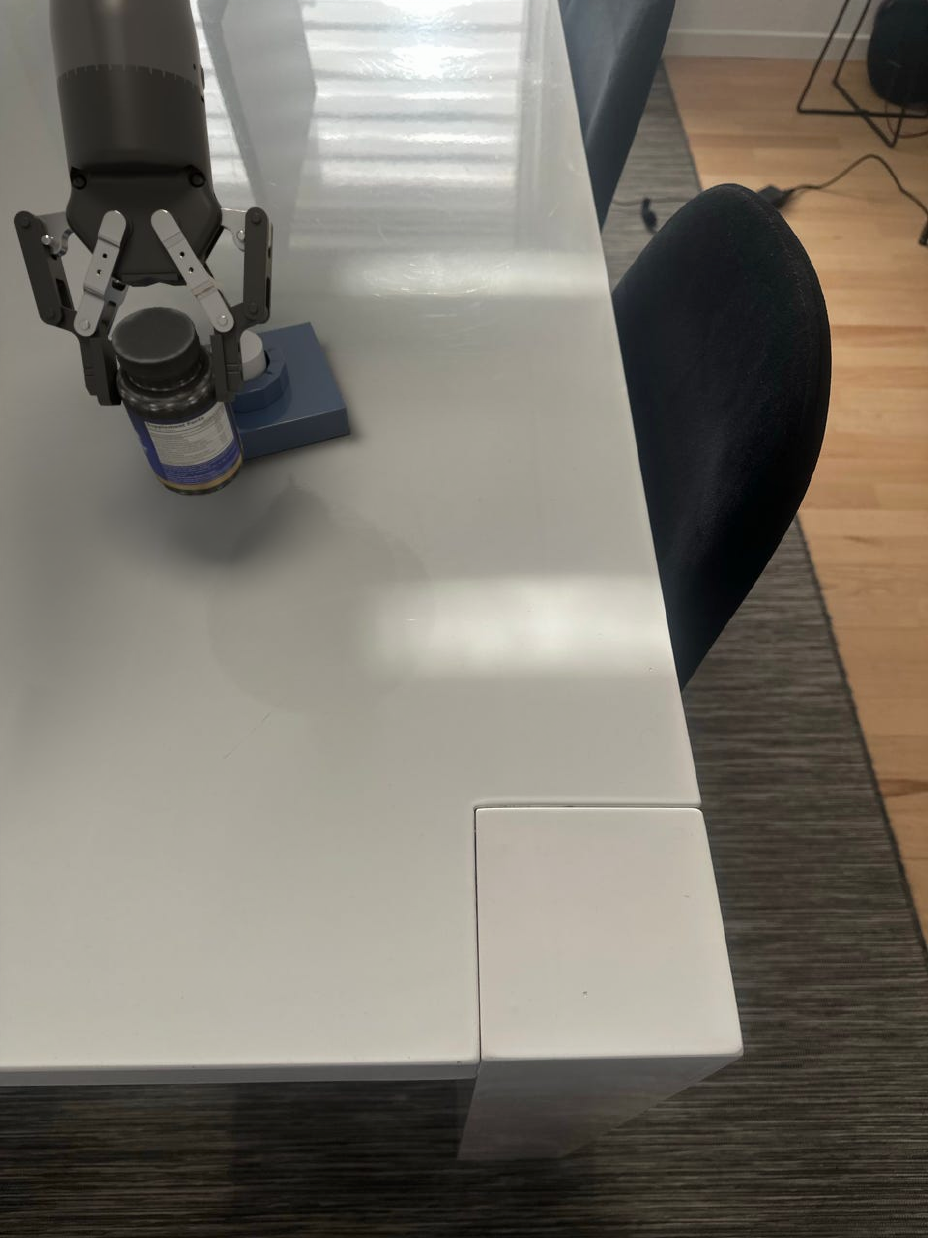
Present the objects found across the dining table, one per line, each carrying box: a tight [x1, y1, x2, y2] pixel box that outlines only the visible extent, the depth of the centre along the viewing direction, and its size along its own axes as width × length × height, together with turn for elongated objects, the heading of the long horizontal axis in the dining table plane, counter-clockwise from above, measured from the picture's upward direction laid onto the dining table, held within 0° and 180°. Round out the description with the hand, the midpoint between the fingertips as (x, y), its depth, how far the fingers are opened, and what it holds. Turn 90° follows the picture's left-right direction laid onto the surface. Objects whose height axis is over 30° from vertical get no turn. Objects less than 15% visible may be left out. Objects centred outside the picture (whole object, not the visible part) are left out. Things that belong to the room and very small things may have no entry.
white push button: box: [210, 329, 267, 382], centre depth 66 cm, size 4×4×2 cm
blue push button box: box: [202, 321, 350, 461], centre depth 69 cm, size 14×11×5 cm
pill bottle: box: [110, 306, 244, 497], centre depth 52 cm, size 6×6×11 cm
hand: (169, 402), depth 49 cm, fingers closed on pill bottle, 6 cm apart
